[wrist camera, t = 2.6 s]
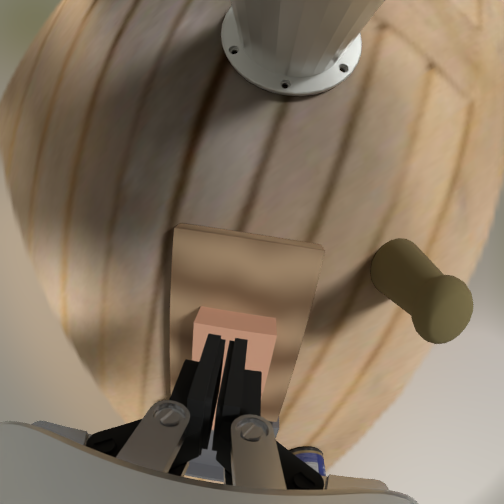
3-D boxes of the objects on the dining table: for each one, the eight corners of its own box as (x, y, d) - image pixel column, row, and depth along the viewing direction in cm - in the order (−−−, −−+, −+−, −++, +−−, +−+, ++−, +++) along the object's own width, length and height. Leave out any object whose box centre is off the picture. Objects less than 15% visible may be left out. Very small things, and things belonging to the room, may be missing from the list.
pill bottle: (318, 463, 37) (324, 517, 26) (281, 464, 37) (282, 519, 26) (326, 444, 35) (335, 503, 24) (285, 445, 35) (287, 507, 25)
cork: (369, 298, 28) (412, 364, 17) (370, 240, 26) (426, 287, 15) (419, 290, 27) (473, 346, 17) (423, 236, 25) (490, 275, 15)
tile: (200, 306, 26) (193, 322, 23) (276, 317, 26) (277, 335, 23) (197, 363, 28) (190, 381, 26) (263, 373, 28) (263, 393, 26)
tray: (172, 393, 33) (166, 410, 30) (278, 410, 33) (279, 427, 30) (176, 459, 38) (173, 472, 35) (256, 471, 38) (256, 485, 35)
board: (180, 223, 26) (174, 227, 24) (320, 244, 26) (325, 250, 24) (175, 394, 33) (171, 405, 31) (276, 410, 33) (276, 421, 31)
